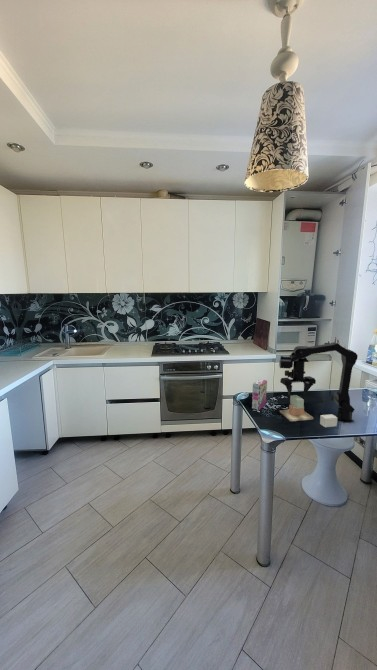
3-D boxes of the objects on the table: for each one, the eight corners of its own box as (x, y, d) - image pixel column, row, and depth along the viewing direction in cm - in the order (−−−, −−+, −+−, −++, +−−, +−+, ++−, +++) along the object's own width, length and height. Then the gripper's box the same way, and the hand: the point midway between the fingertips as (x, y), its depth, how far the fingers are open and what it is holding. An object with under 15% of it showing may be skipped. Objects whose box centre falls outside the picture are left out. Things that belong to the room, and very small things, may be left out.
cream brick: (331, 422, 142) (332, 414, 141) (336, 426, 138) (337, 417, 137) (319, 423, 141) (320, 415, 140) (324, 427, 137) (325, 418, 136)
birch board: (301, 410, 157) (301, 408, 157) (313, 419, 145) (313, 417, 145) (279, 411, 155) (279, 410, 155) (290, 421, 143) (290, 419, 143)
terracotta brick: (299, 412, 152) (300, 403, 152) (303, 415, 149) (304, 406, 148) (288, 412, 151) (289, 404, 151) (292, 416, 148) (292, 407, 147)
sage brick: (290, 403, 152) (290, 395, 152) (296, 403, 153) (296, 395, 152) (296, 408, 146) (297, 400, 145) (303, 408, 146) (303, 399, 145)
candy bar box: (259, 411, 157) (260, 385, 154) (251, 408, 160) (252, 383, 157) (266, 404, 165) (267, 380, 163) (259, 402, 168) (260, 378, 166)
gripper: (305, 364, 155) (303, 389, 158) (276, 365, 153) (275, 391, 155) (317, 369, 144) (315, 396, 147) (286, 371, 142) (284, 398, 144)
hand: (297, 395), depth 148 cm, fingers open, 9 cm apart
